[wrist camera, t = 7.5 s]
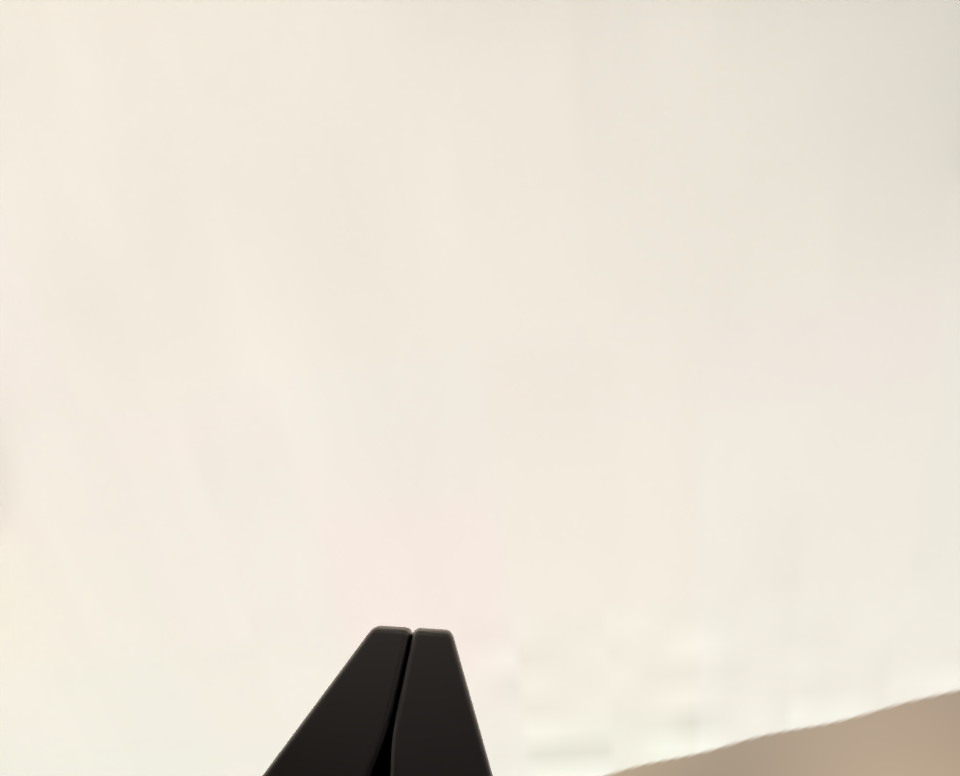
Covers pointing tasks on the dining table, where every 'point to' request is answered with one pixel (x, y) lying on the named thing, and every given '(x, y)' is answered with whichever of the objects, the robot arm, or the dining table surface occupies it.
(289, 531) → the dining table surface
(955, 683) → the dining table surface
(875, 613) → the dining table surface
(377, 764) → the robot arm
